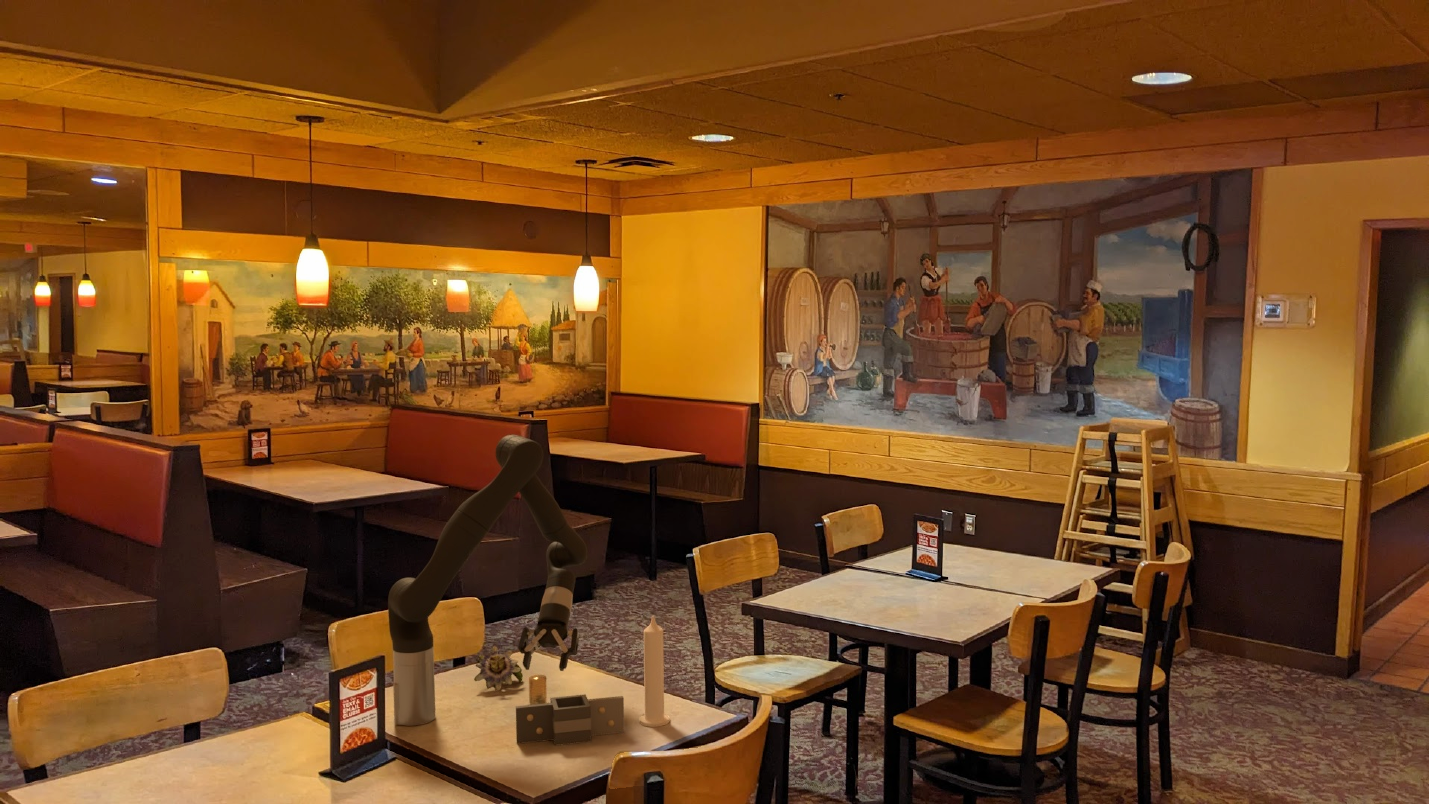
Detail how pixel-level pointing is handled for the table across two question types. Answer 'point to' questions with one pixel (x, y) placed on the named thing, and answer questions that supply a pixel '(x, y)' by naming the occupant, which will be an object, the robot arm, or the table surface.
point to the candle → (654, 677)
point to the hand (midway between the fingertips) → (543, 669)
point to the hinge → (569, 719)
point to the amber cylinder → (537, 690)
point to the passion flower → (497, 669)
